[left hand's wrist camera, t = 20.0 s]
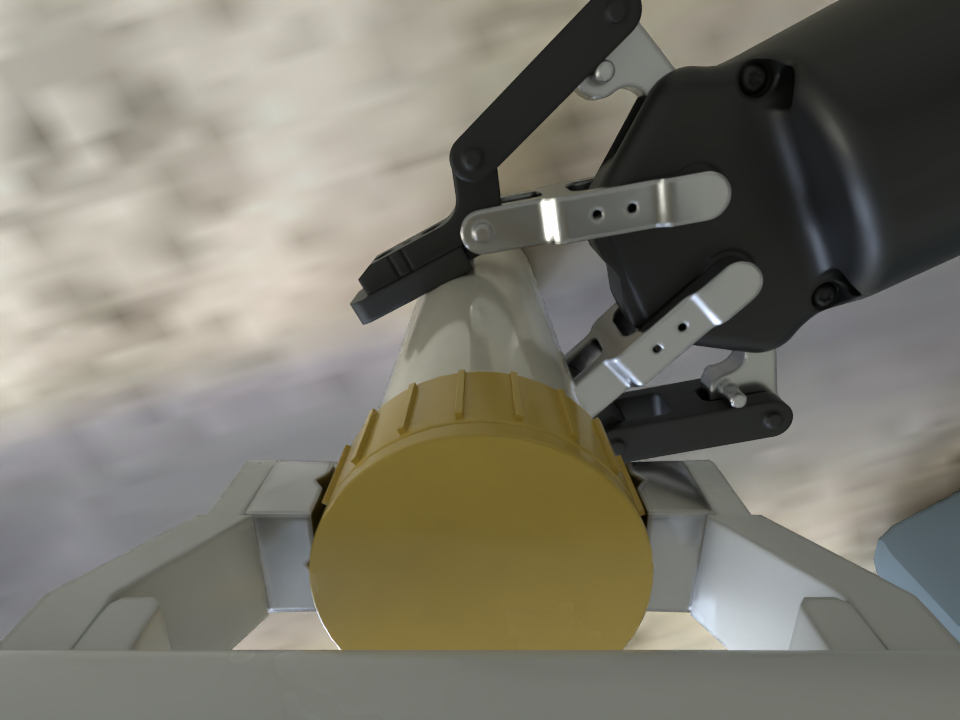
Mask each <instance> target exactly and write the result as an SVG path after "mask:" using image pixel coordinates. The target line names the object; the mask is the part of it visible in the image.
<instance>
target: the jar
mask: <svg viewBox="0 0 960 720" xmlns="http://www.w3.org/2000/svg"><path fill="white" fill-rule="evenodd" d="M462 369H465V372H476V371H484V372H501V373H506V374H510V372H511V371H513V372H517V374H518V376H522V377H525V378H528V379H532V380H535V381H538V382H540V383H543V384H545V385H547V386H549V387H552V388H554V389H556V390H558V389H559V388H561V389H563V390H564V391H565V393H566V396H567V397H569V398H571V399H572V400H573V401H574V402H576V403H577V404H578V405H579V406H581V407H582V408H583V409H584V407H583V405H582V402H581V399H580V397H579V394H578V391H577V389H576V386H575V383H574V381H573V378H572V375H571V373H570V370H569V367H568V365H567V362H566V359H565V357H564V354H563V351H562V349H561V346H560V343H559V340H558V338H557V335H556V332H555V330H554V327H553V324H552V322H551V319H550V316H549V314H548V311H547V308H546V306H545V303H544V300H543V298H542V295H541V292H540V290H539V287H538V284H537V281H536V279H535V276H534V273H533V271H532V268H531V265H530V263H529V261H528V259H527V257H526V256H525V254H524V252H523V251H522V250H521V249H520V248H519V249H514V250H508V251H502V252H497V253H491V254H485V255H480V256H478V257H476V258H474V266H473V269H472V270H470V271H469V272H467V273H465V274H463V275H461V276H459V277H457V278H455V279H453V280H451V281H449V282H447V283H445V284H443V285H441V286H439V287H438V288H436V289H434V290H432V291H430V292H428V293H426V294H424V295H422V296H421V297H419V298H418V299H417V302H416V305H415V308H414V310H413V313H412V316H411V319H410V321H409V324H408V327H407V330H406V332H405V335H404V338H403V341H402V343H401V346H400V349H399V352H398V354H397V357H396V360H395V363H394V365H393V368H392V371H391V374H390V376H389V379H388V382H387V385H386V387H385V390H384V393H383V396H382V398H381V401H380V404H379V407H378V409H379V408H381V407H382V406H383V405H384V404H385V403H386V402H388V401H389V400H391V399H392V398H394V397H395V396H397V395H398V394H400V393H401V392H403V391H405V390H407V389H408V387H409V384H411V383H414V382H415V383H416V385H417V384H419V383H422V382H425V381H428V380H431V379H434V378H437V377H440V376H445V375H450V374H455V373H458V370H462ZM378 409H377V410H378Z"/></svg>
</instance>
